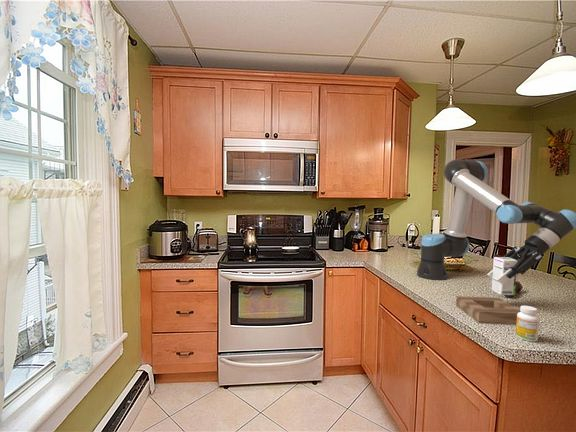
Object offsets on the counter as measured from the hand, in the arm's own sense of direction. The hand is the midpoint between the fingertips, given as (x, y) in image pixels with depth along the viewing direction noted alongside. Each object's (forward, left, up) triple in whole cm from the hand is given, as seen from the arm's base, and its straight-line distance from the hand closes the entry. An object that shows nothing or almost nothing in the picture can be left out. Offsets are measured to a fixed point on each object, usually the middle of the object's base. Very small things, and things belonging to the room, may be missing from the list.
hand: (494, 279), depth 119 cm
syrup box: (0, +4, -6) cm, 7 cm away
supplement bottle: (+29, -7, -11) cm, 32 cm away
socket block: (+11, -8, -11) cm, 18 cm away
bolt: (-14, +16, -11) cm, 24 cm away
